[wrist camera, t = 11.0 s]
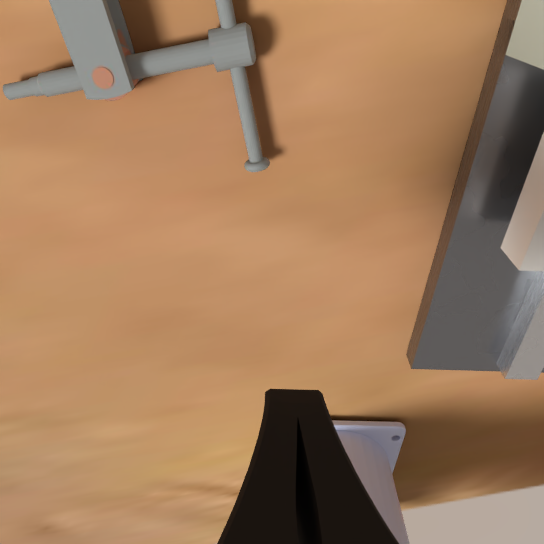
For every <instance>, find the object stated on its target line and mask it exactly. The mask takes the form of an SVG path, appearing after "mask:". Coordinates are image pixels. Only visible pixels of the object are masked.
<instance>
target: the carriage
mask: <svg viewBox="0 0 544 544" xmlns="http://www.w3.org/2000/svg"><path fill="white" fill-rule="evenodd" d="M501 249H502V250H503V252H504V253H505V254H506V255H507V257H508V258H509V259H510V260H511V261H512V263H513V264H514V265H515V266H516V267H517V269H518V270H520V271H544V132H543V135H542V138H541V140H540V143H539V146H538V148H537V151H536V154H535V156H534V159H533V162H532V164H531V167H530V170H529V173H528V175H527V178H526V181H525V183H524V186H523V189H522V191H521V194H520V197H519V199H518V202H517V205H516V208H515V210H514V213H513V216H512V218H511V221H510V224H509V226H508V229H507V232H506V234H505V237H504V240H503V242H502V245H501Z"/></svg>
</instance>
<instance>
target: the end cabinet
mask: <svg viewBox="0 0 544 544" xmlns="http://www.w3.org/2000/svg"><path fill="white" fill-rule="evenodd" d="M506 55H507V56H510V57H512V58H515V59H517V60H520V61H523V62H525V63H528V64H530V65H533V66H536V67H538V68H541V69H543V70H544V0H522V1H521V4H520V8H519V11H518V14H517V18H516V21H515V25H514V27H513V31H512V34H511V38H510V41H509V45H508V48H507V51H506Z"/></svg>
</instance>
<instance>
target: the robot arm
mask: <svg viewBox="0 0 544 544" xmlns="http://www.w3.org/2000/svg"><path fill="white" fill-rule="evenodd" d="M405 433H406V429H405V426H404V424H403V423H401V422H380V421H339V420H331V417H330V415H329V412H328V409H327V407H326V404H325V401H324V398H323V394H322V393H321V392H320V391H319V390H292V389H269V390H268V391H266V392H265V406H264V413H263V419H262V423H261V427H260V431H259V436H258V439H257V443H256V446H255V449H254V452H253V456H252V459H251V462H250V465H249V468H248V471H247V474H246V476H245V479H244V482H243V484H242V487H241V490H240V492H239V495H238V497H237V500H236V503H235V505H234V507H233V510H232V512H231V514H230V517H229V519H228V521H227V524H226V526H225V528H224V530H223V532H222V535H221V537H220V539H219V541H218V543H217V544H409V540H408V536H407V532H406V528H405V524H404V520H403V516H402V512H401V508H400V504H399V500H398V496H397V492H396V488H395V484H394V479H393V475H392V474H393V470H394V467H395V464H396V461H397V458H398V455H399V452H400V449H401V446H402V443H403V440H404V437H405Z"/></svg>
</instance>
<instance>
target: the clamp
mask: <svg viewBox="0 0 544 544" xmlns="http://www.w3.org/2000/svg"><path fill="white" fill-rule="evenodd" d="M215 1H216V6H217V10H218V15H219V20H220V24H221V27H220V28H215V29H210V30H208V37H209V39H205V40H200V41H195V42H191V43H186V44H181V45H176V46H171V47H166V48H161V49H156V50H151V51H146V52H141V53H136V54H135V51H134V48H133V45H132V42H131V39H130V35H129V32H128V29H127V26H126V23H125V19H124V16H123V13H122V10H121V7H120V4H119V0H49V2H50V4H51V7H52V10H53V12H54V15H55V17H56V20H57V23H58V25H59V28H60V30H61V33H62V36H63V38H64V41H65V43H66V46H67V48H68V51H69V54H70V56H71V59H72V61H73V64H74V66H72V67H67V68H62V69H57V70H53V71H48V72H43V73H39V74H38V76H36V77H31V78H29V80H24V81H19V82H14V83H9V84H5V85H3V92H4V94H5V96H6V97H7V98H8V99H9V100H13V99H18V98H23V97H28V96H33V95H35V96H41V95H46V96H47V97H49V96H54V95H59V94H64V93H69V92H74V91H79V90H84V92H85V95H86V98H87V99H94V100H99V99H104V100H110V101H113V100H118V99H121V98H122V97H124V96H125V95H126V94H127V93H128V92H130V91H132V90H133V89H134V88H135V87H134V86H135V85H136V84H137V82H139V81H141V80H143V78H145V77H150V76H155V75H160V74H165V73H171V72H176V71H181V70H186V69H191V68H196V67H201V66H206V65H211V64H214V65H215V68H216V70H217V72H219V71H224V70H229V69H230V71H231V76H232V81H233V86H234V90H235V95H236V100H237V104H238V109H239V114H240V119H241V123H242V128H243V133H244V137H245V142H246V147H247V151H248V156H249V160H247V161H246V163H245V169H246V170H247V171H250V172H258V171H262V170H264V169H266V168H267V167H268V166H269V164H270V161H269V159H268V158H266V157H263V156H262V151H261V146H260V141H259V136H258V131H257V125H256V120H255V115H254V110H253V105H252V100H251V95H250V90H249V85H248V79H247V74H246V69H245V66H249V65H253V64H254V63H255V61H256V52H255V46H254V40H253V35H252V30H251V27H250V25H248V24H247V23H246V22H244V23H239V24H237V23H236V18H235V13H234V8H233V3H232V0H215Z"/></svg>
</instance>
